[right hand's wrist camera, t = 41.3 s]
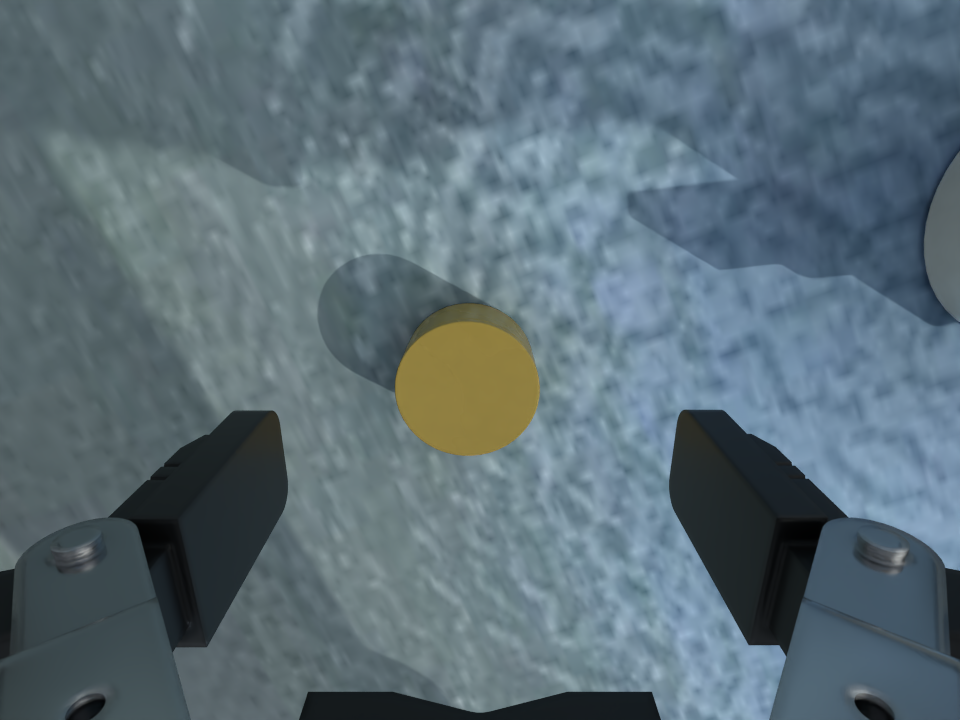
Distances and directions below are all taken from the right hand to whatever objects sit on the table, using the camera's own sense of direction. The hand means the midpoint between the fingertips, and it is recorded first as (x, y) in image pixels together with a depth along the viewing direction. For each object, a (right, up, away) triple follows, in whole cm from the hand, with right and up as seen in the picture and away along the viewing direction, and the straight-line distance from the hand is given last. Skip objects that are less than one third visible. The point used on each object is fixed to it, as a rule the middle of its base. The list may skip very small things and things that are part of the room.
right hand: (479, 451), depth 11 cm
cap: (0, +1, +7) cm, 7 cm away
